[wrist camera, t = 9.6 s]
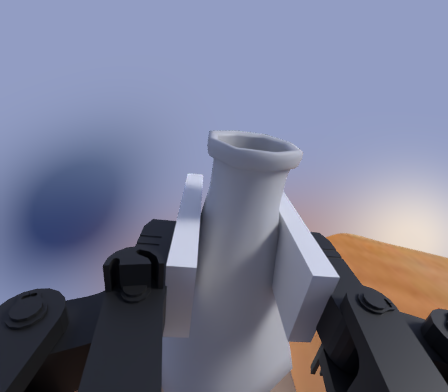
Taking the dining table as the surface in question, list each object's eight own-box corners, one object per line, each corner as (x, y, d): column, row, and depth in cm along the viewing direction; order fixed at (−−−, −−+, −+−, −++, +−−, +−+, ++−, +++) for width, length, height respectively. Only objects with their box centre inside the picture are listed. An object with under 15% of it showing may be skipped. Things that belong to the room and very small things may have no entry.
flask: (139, 291, 14) (135, 113, 10) (249, 272, 17) (283, 126, 13) (150, 457, 8) (153, 184, 4) (319, 386, 11) (430, 180, 7)
